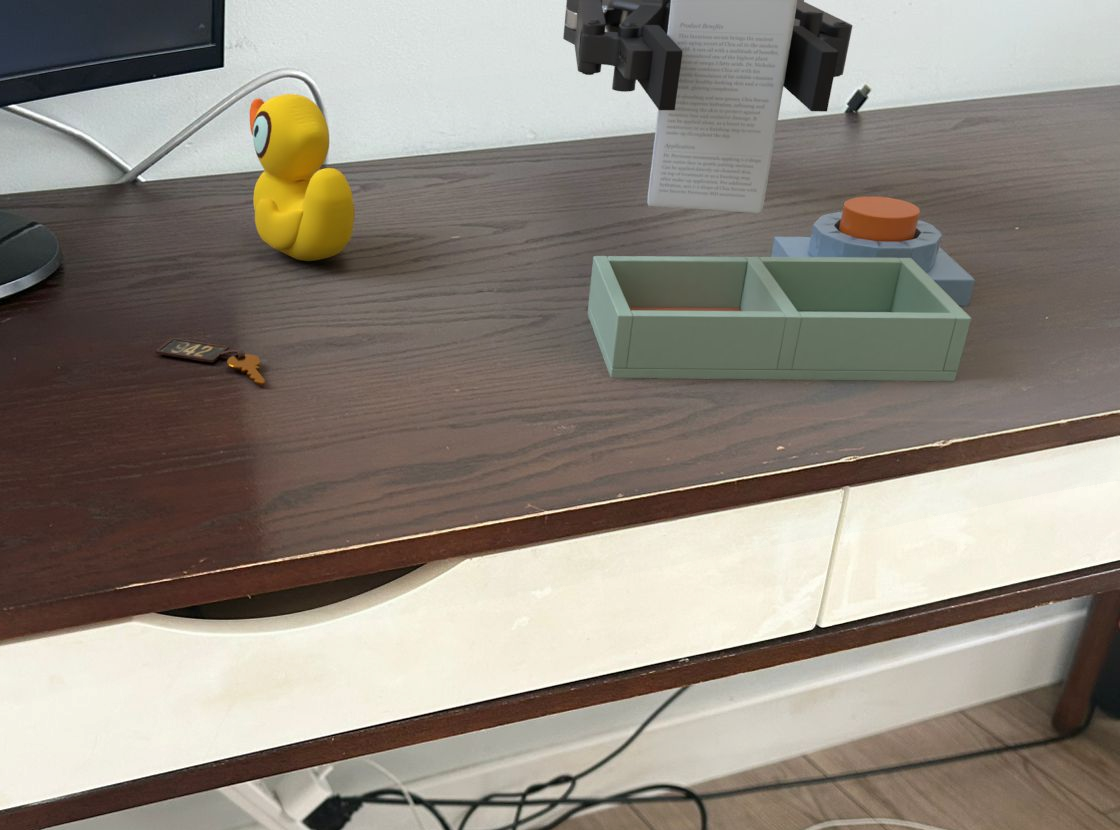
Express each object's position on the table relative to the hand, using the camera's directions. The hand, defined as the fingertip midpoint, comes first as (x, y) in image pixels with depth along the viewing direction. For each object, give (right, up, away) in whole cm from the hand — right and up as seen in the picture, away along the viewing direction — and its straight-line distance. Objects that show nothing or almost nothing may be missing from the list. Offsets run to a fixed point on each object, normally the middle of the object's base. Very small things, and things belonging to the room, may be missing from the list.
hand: (747, 81), depth 65 cm
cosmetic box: (0, -3, +8) cm, 9 cm away
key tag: (-26, -12, +10) cm, 31 cm away
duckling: (-22, -2, +26) cm, 34 cm away
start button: (+14, -2, +19) cm, 24 cm away
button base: (+14, -5, +21) cm, 26 cm away
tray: (+5, -10, +12) cm, 17 cm away
